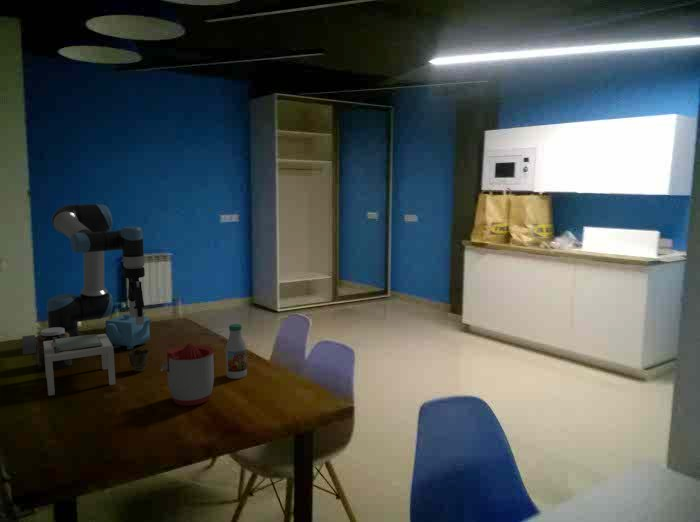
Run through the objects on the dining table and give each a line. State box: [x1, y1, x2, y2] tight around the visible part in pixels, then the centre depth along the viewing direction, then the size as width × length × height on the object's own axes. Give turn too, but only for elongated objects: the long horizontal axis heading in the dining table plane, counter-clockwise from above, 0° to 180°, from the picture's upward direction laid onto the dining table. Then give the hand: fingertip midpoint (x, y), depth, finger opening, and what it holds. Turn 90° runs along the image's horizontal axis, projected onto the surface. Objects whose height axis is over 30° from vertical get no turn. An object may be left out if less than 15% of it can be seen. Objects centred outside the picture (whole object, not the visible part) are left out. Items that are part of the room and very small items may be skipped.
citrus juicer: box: [160, 343, 215, 407], centre depth 181 cm, size 16×17×20 cm
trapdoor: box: [21, 333, 101, 355], centre depth 196 cm, size 24×14×4 cm, turn 121°
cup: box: [127, 348, 149, 373], centre depth 211 cm, size 8×7×8 cm
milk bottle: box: [225, 323, 248, 380], centre depth 205 cm, size 8×8×20 cm
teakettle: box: [105, 311, 154, 351], centre depth 244 cm, size 19×19×15 cm
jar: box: [35, 327, 73, 371], centre depth 216 cm, size 12×12×15 cm
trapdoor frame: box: [43, 333, 117, 396], centre depth 200 cm, size 22×22×16 cm
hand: (136, 321), depth 209 cm, fingers open, 13 cm apart
